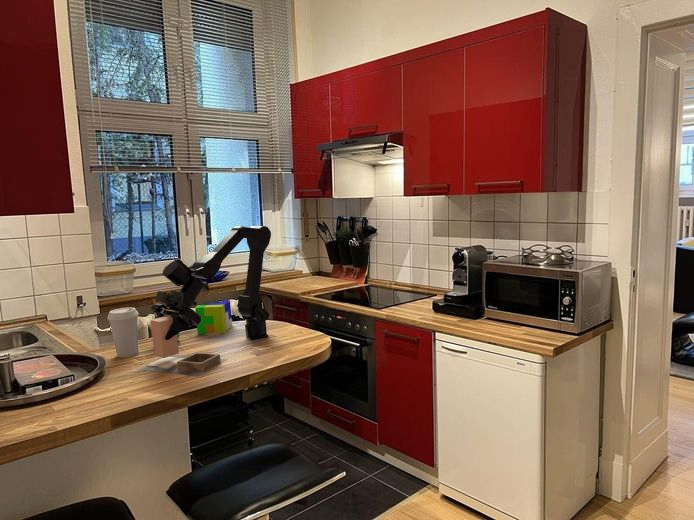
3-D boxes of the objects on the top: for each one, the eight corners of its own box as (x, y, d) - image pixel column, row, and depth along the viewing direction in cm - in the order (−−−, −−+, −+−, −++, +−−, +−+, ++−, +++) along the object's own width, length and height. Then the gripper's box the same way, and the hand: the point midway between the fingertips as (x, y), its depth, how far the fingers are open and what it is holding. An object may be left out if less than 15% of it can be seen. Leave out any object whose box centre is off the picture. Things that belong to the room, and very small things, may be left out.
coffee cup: (128, 360, 163) (123, 314, 161) (105, 358, 167) (99, 313, 165) (149, 350, 172) (144, 307, 170) (127, 349, 176) (122, 306, 174)
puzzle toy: (232, 325, 199) (230, 300, 198) (223, 333, 189) (221, 306, 188) (207, 326, 200) (205, 301, 199) (197, 333, 190) (195, 307, 189)
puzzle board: (227, 363, 155) (226, 351, 154) (198, 380, 142) (197, 367, 141) (170, 358, 163) (169, 346, 162) (138, 373, 150) (136, 361, 150)
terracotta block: (169, 350, 158) (165, 316, 156) (178, 353, 155) (174, 318, 153) (154, 355, 154) (150, 320, 152) (163, 358, 151) (159, 322, 149)
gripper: (152, 278, 160) (123, 321, 153) (189, 282, 149) (159, 328, 141) (176, 297, 167) (150, 339, 160) (213, 302, 156) (186, 347, 149)
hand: (160, 338), depth 152 cm, fingers closed on terracotta block, 5 cm apart
